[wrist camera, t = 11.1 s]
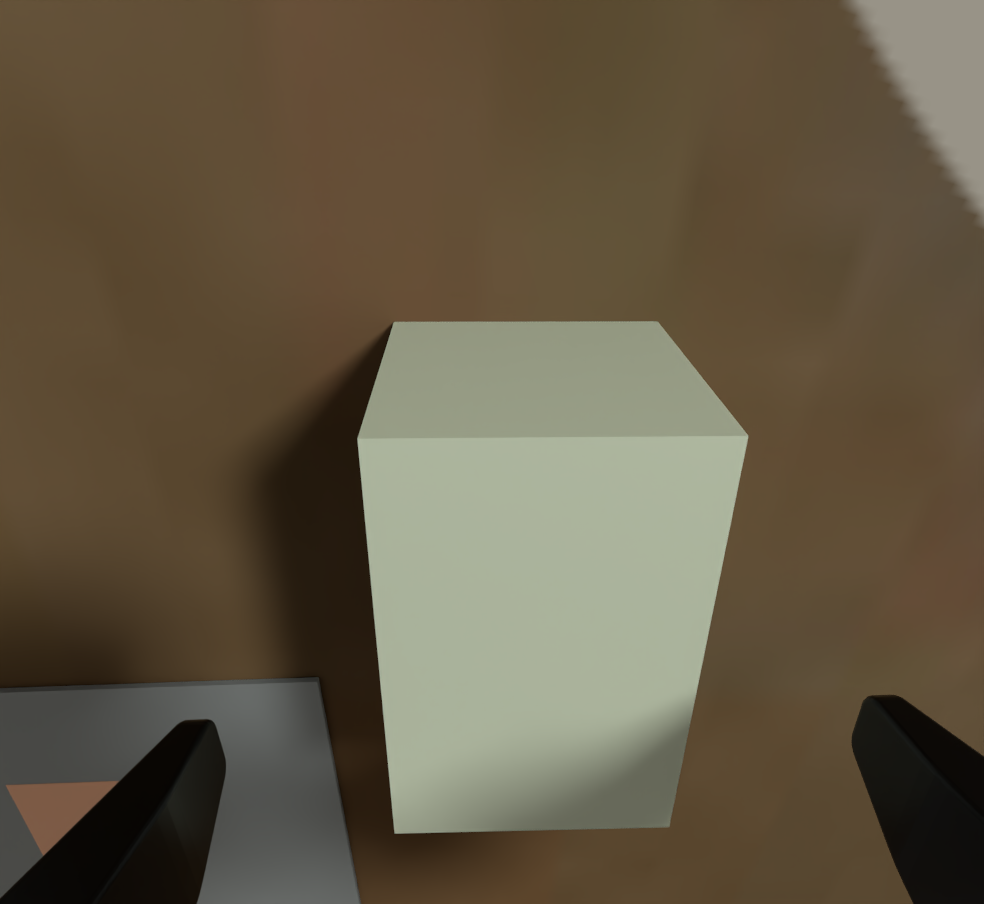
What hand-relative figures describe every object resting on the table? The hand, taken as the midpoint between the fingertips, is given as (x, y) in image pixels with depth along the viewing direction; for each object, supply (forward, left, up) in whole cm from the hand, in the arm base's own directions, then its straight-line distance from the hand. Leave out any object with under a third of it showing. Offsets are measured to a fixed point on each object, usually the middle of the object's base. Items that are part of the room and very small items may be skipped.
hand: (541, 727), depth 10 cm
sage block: (0, 0, -6) cm, 6 cm away
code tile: (+12, +12, -6) cm, 18 cm away
